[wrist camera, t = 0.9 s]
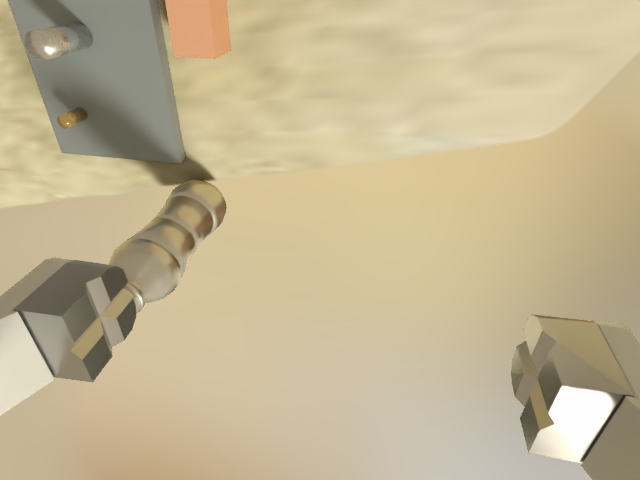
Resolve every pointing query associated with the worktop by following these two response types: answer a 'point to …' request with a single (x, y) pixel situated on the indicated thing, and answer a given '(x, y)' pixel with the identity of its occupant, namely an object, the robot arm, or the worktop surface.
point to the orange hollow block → (198, 28)
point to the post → (60, 54)
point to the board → (108, 79)
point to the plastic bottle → (169, 241)
